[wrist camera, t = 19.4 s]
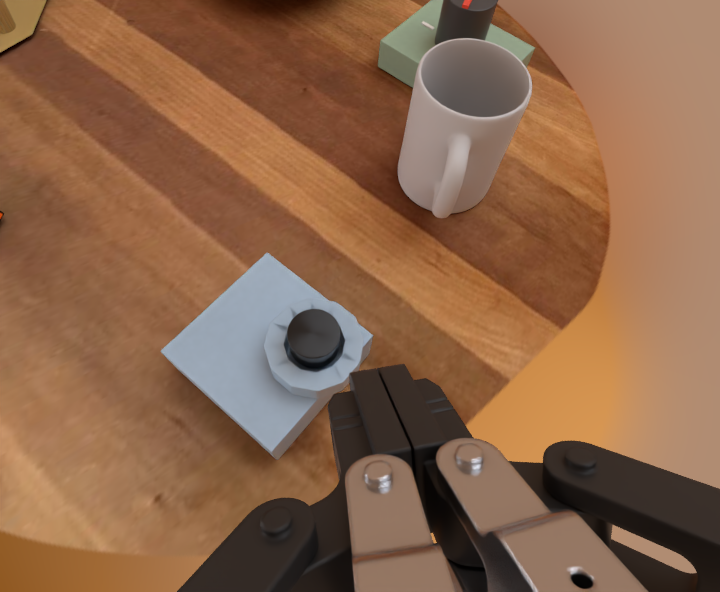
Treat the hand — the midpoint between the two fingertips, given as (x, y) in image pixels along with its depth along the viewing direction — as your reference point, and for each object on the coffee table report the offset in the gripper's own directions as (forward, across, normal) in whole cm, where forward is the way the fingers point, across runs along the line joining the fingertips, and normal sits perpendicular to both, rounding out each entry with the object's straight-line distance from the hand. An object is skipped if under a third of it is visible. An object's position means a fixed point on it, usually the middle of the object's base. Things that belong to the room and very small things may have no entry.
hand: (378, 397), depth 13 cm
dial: (+40, +18, +13) cm, 46 cm away
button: (+17, -1, -6) cm, 18 cm away
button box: (+22, -4, -9) cm, 24 cm away
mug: (+31, +12, 0) cm, 34 cm away
